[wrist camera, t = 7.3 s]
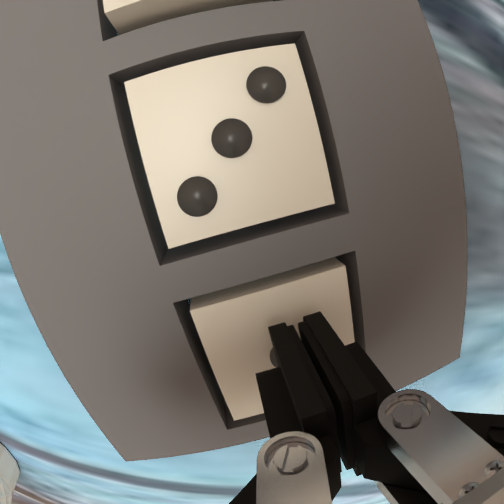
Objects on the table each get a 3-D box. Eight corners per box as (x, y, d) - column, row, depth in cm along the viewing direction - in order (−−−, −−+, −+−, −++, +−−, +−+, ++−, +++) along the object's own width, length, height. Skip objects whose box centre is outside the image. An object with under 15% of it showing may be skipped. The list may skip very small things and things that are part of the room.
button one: (320, 246, 12) (347, 266, 10) (337, 351, 13) (359, 383, 11) (192, 283, 12) (189, 312, 9) (229, 384, 13) (234, 423, 11)
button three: (278, 65, 10) (296, 41, 8) (310, 195, 11) (336, 203, 9) (140, 98, 10) (123, 81, 7) (175, 232, 11) (168, 250, 9)
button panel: (337, -79, 8) (356, -105, 6) (431, 334, 14) (459, 357, 12) (7, -4, 7) (-18, -23, 4) (132, 425, 13) (125, 461, 11)
